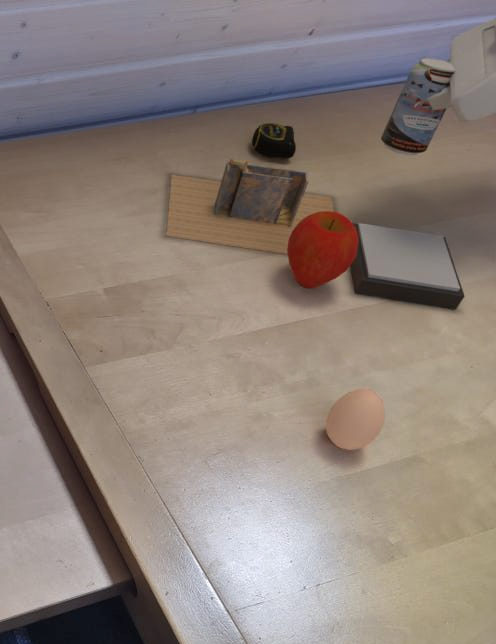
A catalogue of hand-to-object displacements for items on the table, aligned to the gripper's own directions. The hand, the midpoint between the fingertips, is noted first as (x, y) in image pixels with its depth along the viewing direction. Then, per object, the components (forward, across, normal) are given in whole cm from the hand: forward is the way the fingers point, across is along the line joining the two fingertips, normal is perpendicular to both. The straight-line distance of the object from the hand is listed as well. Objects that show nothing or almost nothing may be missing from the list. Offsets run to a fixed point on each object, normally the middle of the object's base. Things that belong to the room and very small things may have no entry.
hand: (416, 98), depth 96 cm
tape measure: (+24, -12, +2) cm, 27 cm away
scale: (+9, +13, +17) cm, 23 cm away
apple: (+17, +21, +9) cm, 29 cm away
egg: (+12, +47, +14) cm, 51 cm away
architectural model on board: (+24, +9, +2) cm, 26 cm away
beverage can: (+4, +1, +5) cm, 7 cm away
